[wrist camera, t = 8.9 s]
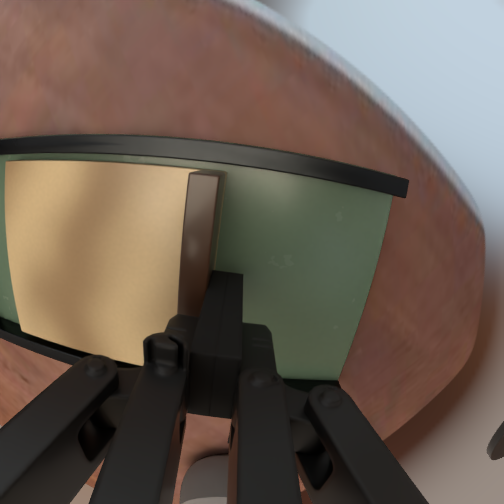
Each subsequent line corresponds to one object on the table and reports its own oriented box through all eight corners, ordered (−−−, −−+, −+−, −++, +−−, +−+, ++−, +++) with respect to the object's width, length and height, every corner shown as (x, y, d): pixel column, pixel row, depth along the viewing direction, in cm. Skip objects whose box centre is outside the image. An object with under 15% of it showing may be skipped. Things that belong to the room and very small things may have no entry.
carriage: (227, 171, 15) (220, 175, 11) (205, 365, 18) (197, 412, 14) (16, 159, 14) (-28, 165, 10) (29, 323, 17) (-1, 352, 13)
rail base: (389, 174, 16) (410, 178, 13) (330, 381, 20) (338, 404, 18) (-12, 140, 14) (-34, 142, 12) (2, 319, 18) (-14, 332, 16)
